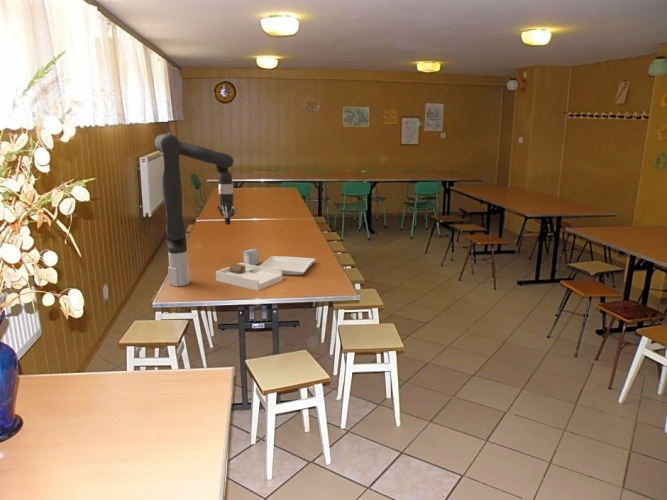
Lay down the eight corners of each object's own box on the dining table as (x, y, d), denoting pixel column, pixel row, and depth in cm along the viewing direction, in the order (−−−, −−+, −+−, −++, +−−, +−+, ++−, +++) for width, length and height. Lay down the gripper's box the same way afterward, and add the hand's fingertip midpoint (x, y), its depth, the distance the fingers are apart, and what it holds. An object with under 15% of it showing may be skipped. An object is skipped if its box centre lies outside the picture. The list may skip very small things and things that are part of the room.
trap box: (258, 290, 256) (257, 281, 255) (216, 280, 272) (215, 271, 271) (282, 280, 272) (282, 271, 271) (241, 271, 287) (241, 262, 286)
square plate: (304, 278, 276) (304, 271, 275) (255, 275, 282) (255, 268, 281) (316, 263, 302) (316, 257, 301) (271, 261, 307) (271, 255, 306)
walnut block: (239, 274, 272) (239, 267, 272) (229, 272, 276) (229, 265, 275) (245, 272, 276) (245, 265, 275) (235, 270, 280) (235, 263, 279)
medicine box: (254, 262, 304) (253, 248, 302) (259, 264, 301) (258, 249, 299) (243, 265, 298) (243, 251, 296) (249, 267, 295) (248, 252, 293)
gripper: (211, 192, 275) (213, 224, 279) (229, 194, 268) (231, 227, 272) (222, 190, 281) (224, 221, 285) (240, 192, 274) (241, 224, 278)
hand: (227, 224), depth 279 cm, fingers closed
